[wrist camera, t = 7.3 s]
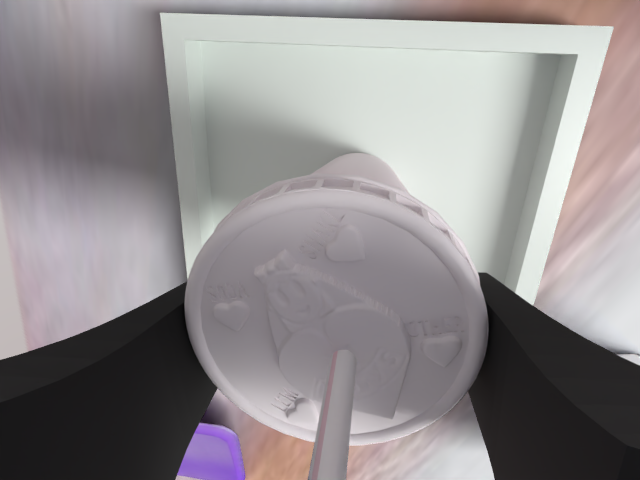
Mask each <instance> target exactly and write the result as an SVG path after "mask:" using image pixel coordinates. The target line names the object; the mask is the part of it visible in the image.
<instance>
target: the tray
mask: <svg viewBox="0 0 640 480" xmlns="http://www.w3.org/2000/svg"><path fill="white" fill-rule="evenodd" d="M160 19H161V28H162V38H163V48H164V57H165V67H166V77H167V86H168V96H169V106H170V115H171V125H172V135H173V144H174V154H175V164H176V173H177V183H178V193H179V202H180V212H181V222H182V231H183V241H184V251H185V260H186V270H187V279H188V277H189V274H190V271H191V268H192V266H193V263H194V261H195V259H196V257H197V255H198V253H199V252H200V250H201V248H202V247H203V245H204V244H205V243H206V241H207V240H208V239H209V238H210V236H211V235H212V234H213V232H214V230H215V228H216V227H217V225H218V224H219V223H220V222H221V221H222V220H223V219H224V218H225V217H226V216H227V215H228V214H229V213H230V212H231V211H232V210H233V209H234V208H235V207H236V206H237V205H238V204H239V203H240V202H241V201H242V200H243V199H245V198H247V197H249V196H251V195H253V194H254V193H256V192H258V191H260V190H262V189H264V188H266V187H268V186H270V185H272V184H274V183H275V182H278V181H283V180H287V179H292V178H297V177H302V176H306V175H310V174H312V173H313V172H315V171H316V170H318V169H320V168H321V167H323V166H324V165H326V164H327V163H329V162H330V161H332V160H334V159H335V158H337V157H339V156H342V155H345V154H349V153H365V154H370V155H373V156H375V157H377V158H379V159H381V160H383V161H384V162H385V163H387V164H388V165H389V166H390V167H391V168H392V169H393V171H394V172H395V174H396V175H397V176H398V178H399V179H400V181H401V182H402V183H403V185H404V186H405V188H406V189H407V191H408V192H409V193H410V195H412V196H413V197H415V198H416V199H418V200H419V201H421V202H422V203H424V204H426V205H427V206H429V207H430V208H432V209H433V210H435V211H436V212H437V213H438V214H439V215H440V216H441V217H442V218H443V219H444V220H445V222H446V223H447V224H448V225H449V226H450V227H451V228H452V230H453V231H454V232H455V233H456V234H457V235H458V236H459V237H460V239H461V240H462V241H463V242H464V244H465V246H466V248H467V251H468V253H469V255H470V257H471V259H472V262H473V264H474V266H475V268H476V270H477V272H486V273H488V274H489V275H491V276H493V277H494V278H495V279H497V280H498V281H500V282H501V283H502V284H504V285H505V286H506V287H508V288H509V289H510V290H512V291H513V292H514V293H516V294H517V295H519V296H520V297H521V298H523V299H524V300H526V301H527V302H528V303H530V304H531V305H534V301H535V298H536V294H537V291H538V287H539V284H540V280H541V277H542V273H543V270H544V266H545V263H546V260H547V256H548V253H549V249H550V246H551V242H552V239H553V235H554V232H555V228H556V225H557V222H558V218H559V215H560V211H561V208H562V204H563V201H564V197H565V194H566V190H567V187H568V183H569V180H570V177H571V173H572V170H573V166H574V163H575V159H576V156H577V152H578V149H579V145H580V142H581V139H582V135H583V132H584V128H585V125H586V121H587V118H588V114H589V111H590V107H591V104H592V100H593V97H594V94H595V90H596V87H597V83H598V80H599V76H600V73H601V69H602V66H603V62H604V59H605V56H606V52H607V49H608V45H609V42H610V38H611V35H612V31H613V28H614V27H612V26H579V25H547V24H514V23H481V22H448V21H415V20H383V19H350V18H317V17H284V16H251V15H219V14H186V13H160Z"/></svg>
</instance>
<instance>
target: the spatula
mask: <svg viewBox="0 0 640 480" xmlns="http://www.w3.org/2000/svg"><path fill="white" fill-rule="evenodd" d="M177 475H180V476H186V477H192V478H197V479H203V480H245V471H244V465H243V459H242V453H241V449H240V442H239V439H238V436H237V434H236V433H235V432H233V431H232V430H231V429H229V428H227V427H226V426H223V425H215V424H206V423H199V425H198V427H197V429H196V431H195V433H194V435H193V437H192V439H191V441H190V444H189V446H188V448H187V450H186V453H185V455H184V458H183V461H182V463H181V466H180V468H179V471H178V473H177Z"/></svg>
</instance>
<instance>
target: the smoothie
mask: <svg viewBox="0 0 640 480" xmlns="http://www.w3.org/2000/svg"><path fill="white" fill-rule="evenodd" d="M184 306H185V320H186V327H187V331H188V335H189V339H190V342H191V344H192V347H193V350H194V352H195V354H196V356H197V358H198V360H199V362H200V364H201V366H202V367H203V369H204V371H205V372H206V374H207V375H208V376H209V378H210V379H211V381H212V382H213V383H214V384H215V385H216V387H217V388H218V389H219V390H220V391H221V393H223V394H224V395H225V396H226V397H227V398H228V399H229V400H230V401H231V402H232V403H234V404H235V405H236V406H237V407H238V408H239V409H241V410H242V411H244V412H245V413H247V414H248V415H250V416H251V417H253V418H254V419H256V420H257V421H259V422H260V423H262V424H264V425H267V426H269V427H271V428H273V429H275V430H277V431H279V432H281V433H284V434H287V435H290V436H293V437H297V438H300V439H303V440H306V441H311V442H315V443H314V449H313V454H312V460H311V465H310V471H309V476H308V480H346V473H347V462H348V452H349V445H356V446H360V445H367V444H375V443H382V442H387V441H390V440H394V439H398V438H401V437H404V436H407V435H410V434H412V433H414V432H416V431H419V430H421V429H423V428H425V427H427V426H428V425H430V424H432V423H434V422H435V421H437V420H438V419H439V418H441V417H442V416H444V415H445V414H446V413H447V412H449V411H450V410H451V409H452V408H453V407H454V406H455V405H456V404H457V403H458V402H459V401H460V400H461V399H462V398H463V396H464V395H465V394H466V393H467V391H468V390H469V389H470V387H471V385H472V384H473V382H474V381H475V379H476V377H477V375H478V373H479V371H480V369H481V366H482V363H483V360H484V357H485V353H486V348H487V343H488V331H489V328H488V314H487V308H486V302H485V299H484V296H483V292H482V289H481V287H480V279H479V275H478V273H477V270H476V268H475V266H474V264H473V262H472V259H471V257H470V255H469V253H468V251H467V248H466V246H465V244H464V242H463V241H462V240H461V239H460V237H459V236H458V235H457V234H456V233H455V232H454V231H453V230H452V228H451V227H450V226H449V225H448V224H447V223H446V222H445V220H444V219H443V218H442V217H441V216H440V215H439V214H438V213H437V212H436V211H435V210H433V209H432V208H430V207H429V206H427V205H426V204H424V203H422V202H421V201H419V200H418V199H416V198H415V197H413V196H412V195H410V193H409V192H408V191H407V189H406V188H405V186H404V185H403V183H402V182H401V181H400V179H399V178H398V176H397V175H396V174H395V172H394V171H393V169H392V168H391V167H390V166H389V165H388V164H387V163H385V162H384V161H383V160H381V159H379V158H377V157H375V156H373V155H370V154H365V153H349V154H345V155H342V156H339V157H337V158H335V159H334V160H332V161H330V162H329V163H327V164H326V165H324V166H323V167H321V168H320V169H318V170H316V171H315V172H313V173H312V174H310V175H306V176H302V177H297V178H292V179H287V180H283V181H278V182H275V183H274V184H272V185H270V186H268V187H266V188H264V189H262V190H260V191H258V192H256V193H254V194H253V195H251V196H249V197H247V198H245V199H243V200H242V201H241V202H240V203H239V204H238V205H237V206H236V207H235V208H234V209H233V210H232V211H231V212H230V213H229V214H228V215H227V216H226V217H225V218H224V219H223V220H222V221H221V222H220V223H219V224H218V225H217V227H216V228H215V230H214V232H213V234H212V235H211V236H210V238H209V239H208V240H207V241H206V243H205V244H204V245H203V247H202V248H201V250H200V252H199V253H198V255H197V257H196V259H195V261H194V263H193V266H192V268H191V271H190V274H189V277H188V281H187V286H186V291H185V303H184Z"/></svg>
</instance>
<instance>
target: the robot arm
mask: <svg viewBox="0 0 640 480" xmlns="http://www.w3.org/2000/svg"><path fill="white" fill-rule="evenodd" d="M477 273H478V275H479V279H480V287H481V289H482V292H483V296H484V299H485V302H486V308H487V314H488V328H489V331H488V343H487V348H486V353H485V357H484V360H483V363H482V366H481V369H480V371H479V373H478V375H477V377H476V379H475V381H474V382H473V384H472V385H471V387H470V389H469V390H468V392H469V395H470V398H471V401H472V404H473V408H474V411H475V414H476V417H477V420H478V423H479V426H480V429H481V432H482V436H483V439H484V442H485V445H486V448H487V451H488V455H489V458H490V462H491V466H492V469H493V473H494V478H495V480H640V365H637V364H635V363H633V362H631V361H629V360H627V359H625V358H622V357H620V356H618V355H616V354H614V353H612V352H610V351H608V350H607V349H605V348H603V347H601V346H599V345H597V344H595V343H593V342H591V341H589V340H587V339H585V338H584V337H582V336H580V335H578V334H577V333H575V332H573V331H572V330H570V329H568V328H567V327H565V326H563V325H562V324H560V323H559V322H557V321H555V320H554V319H552V318H551V317H549V316H547V315H546V314H544V313H543V312H541V311H540V310H538V309H537V308H536V307H534V306H533V305H531V304H530V303H528V302H527V301H526V300H524V299H523V298H521V297H520V296H519V295H517V294H516V293H514V292H513V291H512V290H510V289H509V288H508V287H506V286H505V285H504V284H502V283H501V282H500V281H498V280H497V279H495V278H494V277H493V276H491V275H489V274H488V273H486V272H477ZM186 286H187V282H185V283H183V284H182V285H180V286H178V287H176V288H174V289H172V290H170V291H169V292H167V293H165V294H163V295H161V296H159V297H157V298H155V299H154V300H152V301H150V302H148V303H146V304H144V305H142V306H140V307H138V308H136V309H134V310H132V311H130V312H128V313H126V314H124V315H122V316H120V317H118V318H115V319H113V320H111V321H109V322H107V323H104V324H102V325H100V326H97V327H95V328H93V329H90V330H88V331H85V332H83V333H80V334H78V335H75V336H73V337H70V338H67V339H65V340H62V341H59V342H56V343H53V344H50V345H47V346H44V347H41V348H38V349H35V350H32V351H29V352H26V353H23V354H20V355H17V356H13V357H9V358H6V359H2V360H0V480H175V479H176V476H177V473H178V471H179V468H180V466H181V463H182V461H183V458H184V455H185V453H186V450H187V448H188V446H189V444H190V441H191V439H192V437H193V435H194V433H195V431H196V429H197V427H198V425H199V423H200V421H201V419H202V417H203V415H204V413H205V411H206V409H207V407H208V405H209V404H210V402H211V400H212V398H213V396H214V394H215V392H216V390H217V387H216V385H215V384H214V383H213V382H212V381H211V379H210V378H209V376H208V375H207V374H206V372H205V371H204V369H203V367H202V366H201V364H200V362H199V360H198V358H197V356H196V354H195V352H194V350H193V347H192V344H191V342H190V339H189V335H188V331H187V327H186V320H185V306H184V303H185V291H186Z"/></svg>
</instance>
